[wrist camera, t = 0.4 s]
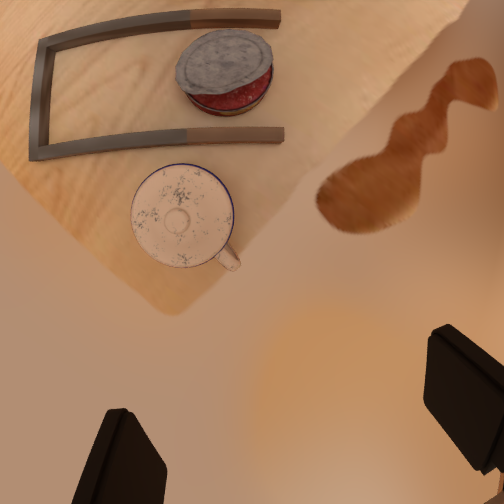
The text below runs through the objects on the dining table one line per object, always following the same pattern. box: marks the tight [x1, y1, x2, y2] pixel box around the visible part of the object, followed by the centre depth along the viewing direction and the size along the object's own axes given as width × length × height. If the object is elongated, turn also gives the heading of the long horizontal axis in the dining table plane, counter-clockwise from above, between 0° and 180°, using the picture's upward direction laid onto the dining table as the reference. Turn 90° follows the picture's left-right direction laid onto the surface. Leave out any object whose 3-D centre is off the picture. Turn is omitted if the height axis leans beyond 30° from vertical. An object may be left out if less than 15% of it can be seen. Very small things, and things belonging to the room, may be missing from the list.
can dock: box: [29, 8, 284, 161], centre depth 30 cm, size 16×30×2 cm, turn 91°
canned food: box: [176, 29, 274, 116], centre depth 29 cm, size 11×10×10 cm
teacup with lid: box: [131, 163, 241, 271], centre depth 30 cm, size 12×9×12 cm
